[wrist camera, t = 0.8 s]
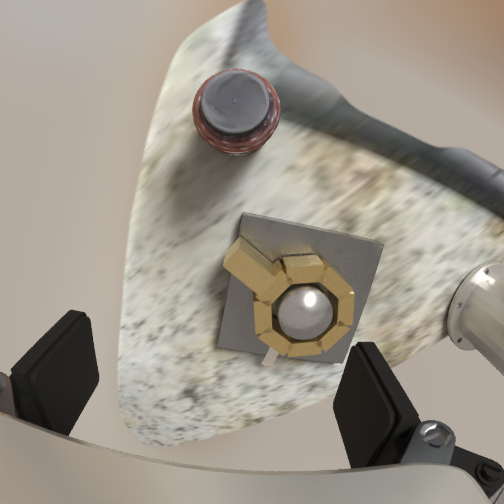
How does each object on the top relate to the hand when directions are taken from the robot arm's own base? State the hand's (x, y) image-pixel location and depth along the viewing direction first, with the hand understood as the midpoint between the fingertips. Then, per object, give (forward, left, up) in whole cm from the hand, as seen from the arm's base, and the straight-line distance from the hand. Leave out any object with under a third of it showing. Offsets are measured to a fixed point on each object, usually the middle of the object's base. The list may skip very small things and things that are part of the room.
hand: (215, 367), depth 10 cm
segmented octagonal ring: (-6, +4, -19) cm, 20 cm away
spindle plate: (-7, +5, -21) cm, 23 cm away
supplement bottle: (+2, -10, -21) cm, 23 cm away
